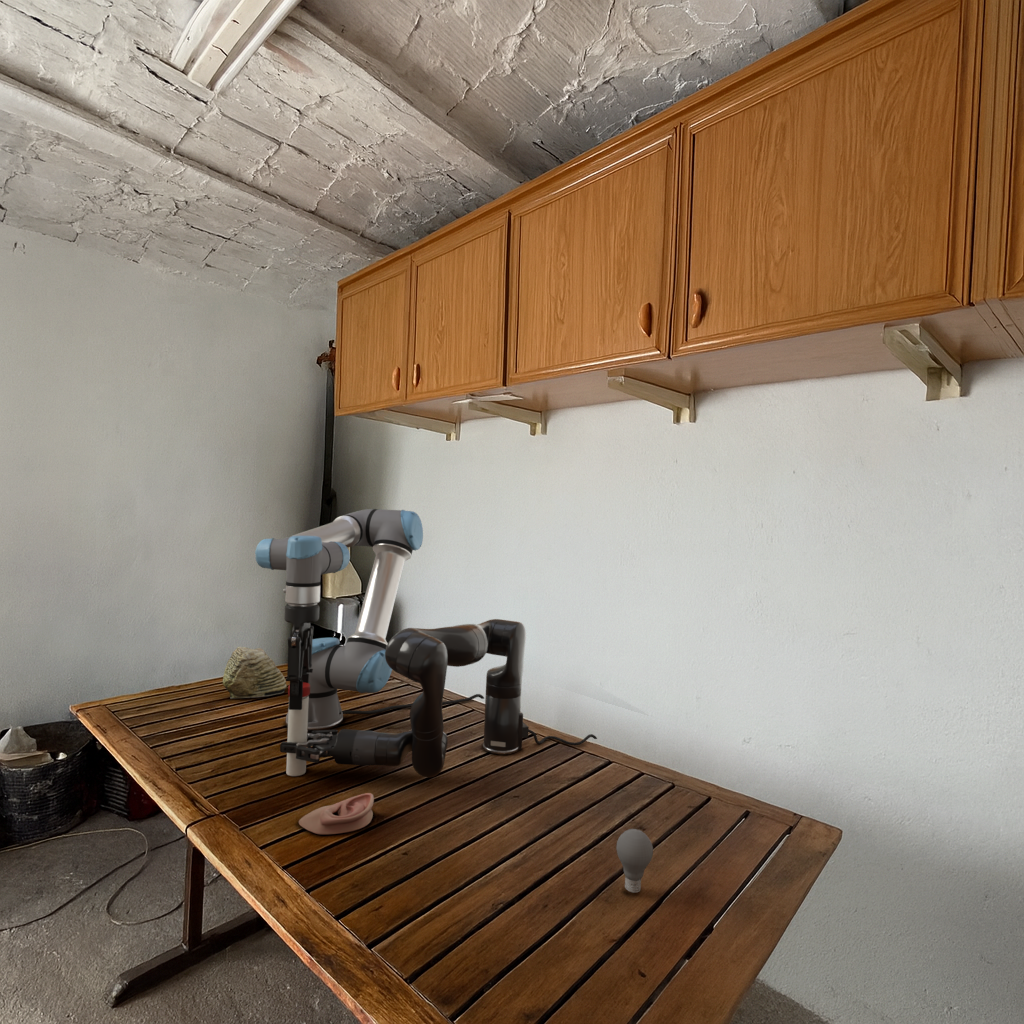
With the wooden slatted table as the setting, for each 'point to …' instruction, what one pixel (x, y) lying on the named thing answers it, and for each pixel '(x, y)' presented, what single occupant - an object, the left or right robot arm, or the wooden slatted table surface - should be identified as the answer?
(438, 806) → the wooden slatted table surface
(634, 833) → the light bulb
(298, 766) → the white tube
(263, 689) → the fossil
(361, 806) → the anatomical model
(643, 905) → the wooden slatted table surface
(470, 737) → the wooden slatted table surface
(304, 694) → the lid
